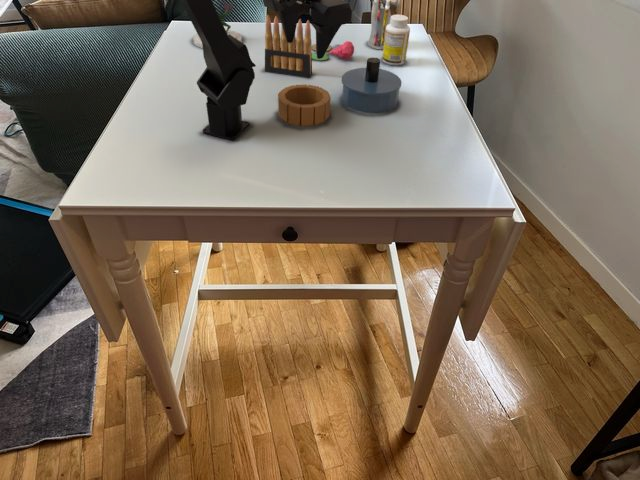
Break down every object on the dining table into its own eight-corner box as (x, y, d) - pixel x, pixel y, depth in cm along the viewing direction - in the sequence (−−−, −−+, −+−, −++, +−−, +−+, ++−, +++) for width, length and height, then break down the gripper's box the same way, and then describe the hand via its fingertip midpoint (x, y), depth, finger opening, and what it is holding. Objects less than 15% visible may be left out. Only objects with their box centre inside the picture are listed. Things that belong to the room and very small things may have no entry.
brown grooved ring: (318, 132, 90) (318, 111, 88) (270, 121, 93) (269, 101, 90) (335, 110, 97) (337, 90, 94) (291, 100, 100) (291, 80, 97)
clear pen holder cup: (362, 47, 123) (369, -18, 113) (370, 38, 128) (377, -25, 117) (389, 52, 121) (398, -14, 111) (396, 42, 126) (405, -21, 116)
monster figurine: (192, 33, 126) (186, -10, 119) (238, 31, 128) (235, -12, 121) (195, 51, 117) (188, 5, 110) (244, 48, 119) (241, 3, 113)
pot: (388, 120, 95) (391, 99, 92) (334, 108, 98) (335, 87, 95) (402, 96, 103) (405, 76, 100) (352, 86, 105) (353, 66, 103)
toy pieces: (362, 50, 121) (364, 32, 118) (346, 66, 113) (347, 47, 110) (319, 42, 124) (319, 24, 121) (300, 57, 117) (300, 38, 114)
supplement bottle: (394, 55, 119) (401, 11, 112) (409, 63, 116) (417, 18, 109) (377, 59, 117) (382, 15, 110) (391, 68, 114) (398, 22, 107)
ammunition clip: (312, 74, 109) (313, 19, 101) (310, 77, 108) (311, 21, 100) (267, 68, 111) (265, 13, 103) (264, 71, 110) (262, 15, 102)
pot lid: (391, 103, 92) (395, 77, 88) (332, 91, 95) (334, 65, 91) (407, 79, 100) (411, 54, 97) (352, 68, 103) (354, 44, 100)
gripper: (234, -52, 81) (240, 42, 91) (301, -27, 71) (299, 77, 81) (288, -58, 86) (288, 32, 97) (358, -35, 76) (349, 63, 86)
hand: (304, 50), depth 90 cm, fingers open, 9 cm apart
